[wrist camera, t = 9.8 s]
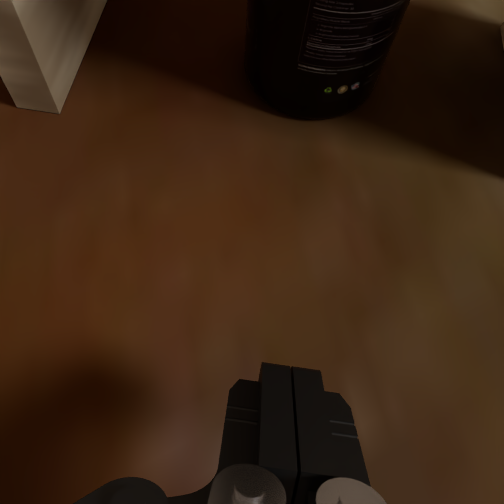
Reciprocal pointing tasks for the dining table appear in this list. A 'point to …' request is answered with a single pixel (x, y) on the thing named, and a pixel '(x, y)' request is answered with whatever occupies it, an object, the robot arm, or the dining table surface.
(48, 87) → the riser
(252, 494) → the robot arm
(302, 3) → the supplement bottle
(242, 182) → the dining table surface
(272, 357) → the dining table surface
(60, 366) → the dining table surface
